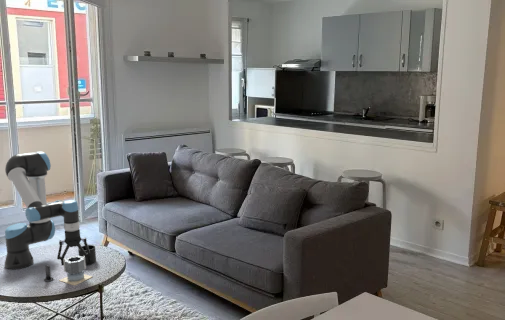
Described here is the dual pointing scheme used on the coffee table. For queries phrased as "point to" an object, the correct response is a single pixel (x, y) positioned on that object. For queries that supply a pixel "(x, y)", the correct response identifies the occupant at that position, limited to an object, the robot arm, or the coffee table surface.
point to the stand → (48, 274)
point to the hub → (75, 278)
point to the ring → (74, 264)
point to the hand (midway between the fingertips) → (75, 269)
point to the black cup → (92, 257)
